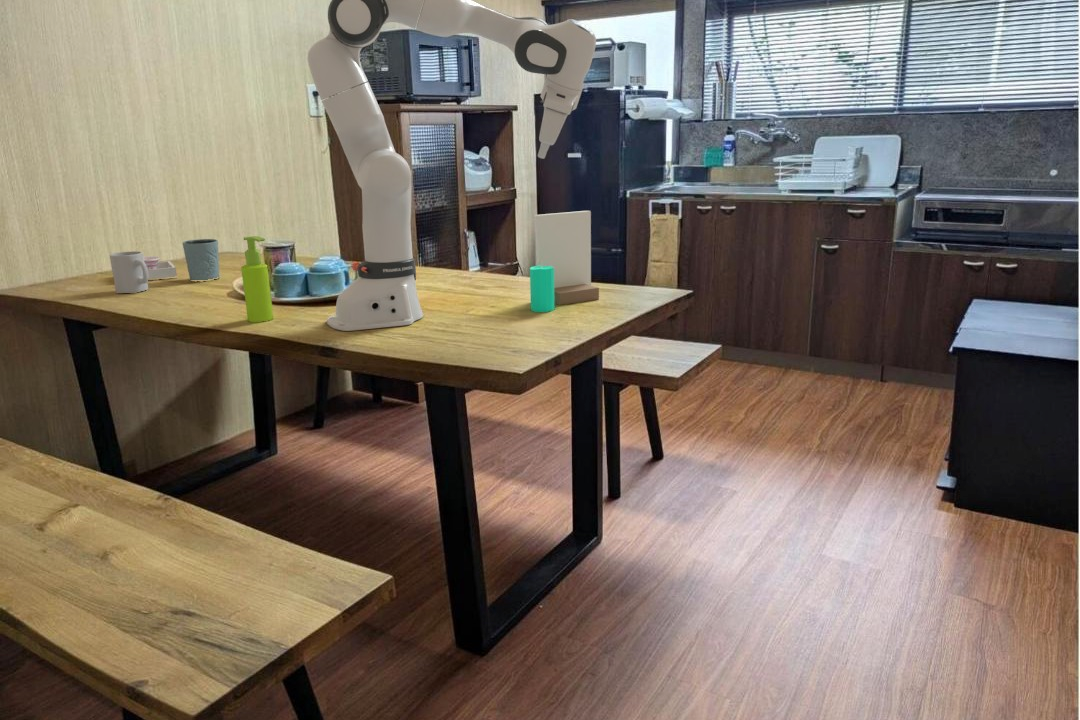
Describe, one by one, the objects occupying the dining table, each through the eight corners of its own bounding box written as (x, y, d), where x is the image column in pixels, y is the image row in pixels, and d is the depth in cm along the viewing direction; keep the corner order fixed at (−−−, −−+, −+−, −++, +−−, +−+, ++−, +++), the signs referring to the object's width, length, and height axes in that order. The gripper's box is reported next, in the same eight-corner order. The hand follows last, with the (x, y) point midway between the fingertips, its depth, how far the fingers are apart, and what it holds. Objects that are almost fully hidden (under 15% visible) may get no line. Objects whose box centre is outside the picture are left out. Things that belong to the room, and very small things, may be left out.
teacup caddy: (121, 284, 239) (119, 272, 238) (118, 276, 252) (116, 265, 251) (177, 278, 246) (175, 267, 245) (171, 271, 259) (169, 260, 258)
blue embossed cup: (204, 276, 249) (199, 238, 246) (230, 277, 246) (225, 239, 242) (180, 282, 240) (174, 242, 237) (207, 283, 237) (201, 243, 233)
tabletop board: (553, 306, 197) (551, 217, 191) (536, 300, 204) (534, 215, 197) (605, 298, 205) (605, 213, 198) (587, 293, 211) (587, 210, 205)
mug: (109, 292, 226) (102, 255, 223) (136, 287, 233) (129, 250, 230) (136, 296, 220) (130, 257, 217) (163, 290, 228) (157, 252, 224)
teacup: (149, 273, 257) (146, 255, 255) (178, 275, 253) (175, 256, 251) (119, 280, 246) (115, 260, 244) (148, 282, 242) (145, 262, 240)
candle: (552, 312, 190) (551, 263, 187) (528, 311, 191) (527, 263, 188) (556, 306, 196) (556, 259, 192) (533, 306, 197) (532, 258, 194)
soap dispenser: (261, 323, 185) (251, 239, 179) (242, 320, 188) (231, 237, 183) (281, 318, 190) (271, 236, 184) (262, 315, 193) (252, 234, 187)
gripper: (549, 82, 190) (533, 137, 197) (544, 100, 173) (526, 159, 179) (574, 91, 191) (556, 145, 198) (571, 109, 173) (552, 168, 180)
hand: (542, 152), depth 188 cm, fingers open, 8 cm apart
